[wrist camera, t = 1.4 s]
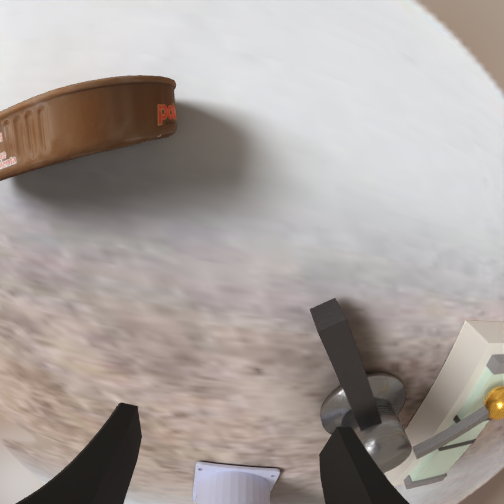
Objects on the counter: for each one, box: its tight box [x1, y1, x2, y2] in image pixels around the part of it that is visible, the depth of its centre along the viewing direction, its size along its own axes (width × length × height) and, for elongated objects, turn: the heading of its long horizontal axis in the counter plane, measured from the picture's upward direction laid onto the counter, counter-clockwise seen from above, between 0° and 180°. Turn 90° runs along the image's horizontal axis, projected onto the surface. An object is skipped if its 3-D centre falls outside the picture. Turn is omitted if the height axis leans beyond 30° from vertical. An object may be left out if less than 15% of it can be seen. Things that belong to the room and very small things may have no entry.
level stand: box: [385, 320, 504, 489], centre depth 21 cm, size 18×7×5 cm, turn 170°
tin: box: [0, 75, 177, 181], centre depth 12 cm, size 15×3×8 cm, turn 95°
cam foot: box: [310, 298, 504, 473], centre depth 17 cm, size 14×14×7 cm
